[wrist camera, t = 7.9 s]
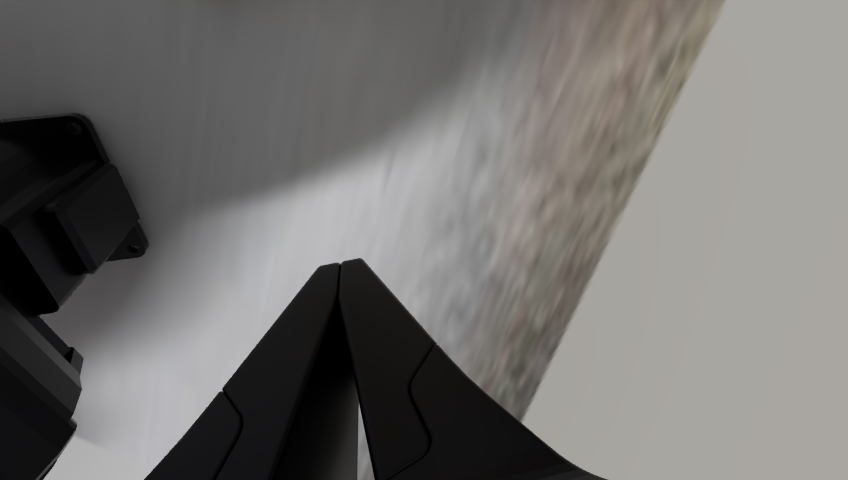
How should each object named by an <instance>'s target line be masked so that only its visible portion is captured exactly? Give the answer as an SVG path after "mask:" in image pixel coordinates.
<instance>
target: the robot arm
mask: <svg viewBox="0 0 848 480" xmlns="http://www.w3.org/2000/svg"><path fill="white" fill-rule="evenodd" d="M71 123H76V124H78V125H79V126H80V128H81V131H82V132H78V131H76V130H74V128H73V127H72V124H71ZM138 220H139V215H138V212H137V210H136V208H135V206H134V204H133V202H132V200H131V197H130V195H129V193H128V191H127V189H126V187H125V185H124V182H123V180H122V178H121V176H120V174H119V172H118V169H117V168H116V167H115V166H114V165H113V164H111V163H110V160H109V158H108V156H107V154H106V152H105V150H104V148H103V146H102V143H101V141H100V139H99V137H98V135H97V133H96V131H95V128H94V126H93V124H92V123H91V121H90V120H89V119H88V118H86V117H85V116H83V115H81V114H78V113H68V114H58V115H47V116H37V117H26V118H16V119H6V120H0V480H43V479H44V478H45V476H46V475H47V474H48V472H49V471H50V470H51V469H52V467H53V466H54V464H55V463H56V461H57V459H58V457H59V456H60V455H61V453H62V452H63V450H64V449H65V447H66V446H67V444H68V443H69V442H70V440H71V439H72V437H73V435H74V433H75V430H76V427H77V423H76V422H75V421H74V420H73V419H72V418H71V417H72V415H73V414H74V411H75V408H76V405H77V402H78V399H79V396H80V393H81V390H82V387H81V382H80V373H81V368H82V363H83V357H82V356H81V355H80V354H79V352H78V351H77V350H76V349H75V348H73V347H70V348H69V347H68V346H67V345H66V344H65V343H64V342H63V341H62V340H61V339H60V338H59V337H58V336H57V335H56V334H55V333H54V332H53V331H52V329H51V328H50V327H49V326H48V325H47V324H46V323H45V322H44V321H43V320H42V319H41V318H40V317H39V316H40V315H41V314H48V313H54V312H57V311H58V310H59V309H60V307H61V306H62V305H63V304H64V303H65V301H66V300H67V299H68V298H69V297H70V295H71V294H72V293H73V292H74V291H75V289H76V288H77V287H78V286H79V285H80V284H81V282H82V281H83V280H84V279H85V278H86V276H87V275H89V274H94V273H96V272H97V271H98V269H99V268H100V267H101V266H102V265H103V263H104V262H107V261H115V260H122V259H130V258H138V257H141V256H142V255H144V254H145V252H146V251H147V249H148V247H149V245H148V241H147V239H146V237H145V235H144V233H143V231H142V228H141V226H140V224H139V222H138ZM131 244H135V245H137V246H138V247H139V248H134V247H132V246H131ZM222 390H223V392H222V391H221V392H219V393H218V394H217V395H216V397H215V398H214V399H213V401H212V402H211V403H210V404H209V406H208V407H207V408H206V409H205V411H204V412H203V413H202V414H201V415H200V417H199V418H198V419H197V420H196V421H195V423H194V424H193V425H192V426H191V427H190V429H189V430H188V431H187V432H186V433H185V435H184V436H183V437H182V438H181V439H180V440H179V442H178V443H177V444H176V445H175V446H174V447H173V448H172V449H171V450H170V452H169V453H168V454H167V455H166V456H165V457H164V458H163V459H162V460H161V462H160V463H159V464H158V465H157V466H156V467H155V468H154V469H153V470H152V472H151V473H150V474H149V475H148V476H147V477H146V478H145V479H144V480H357V458H358V408H359V404H360V409H361V414H362V419H363V424H364V429H365V434H366V439H367V443H368V448H369V453H370V458H371V463H372V468H373V473H374V478H375V480H607V479H604V478H601V477H599V476H596V475H593V474H591V473H589V472H587V471H585V470H583V469H581V468H579V467H578V466H576V465H574V464H572V463H571V462H569V461H568V460H566V459H565V458H563V457H562V456H561V455H559V454H558V453H557V452H556V451H554V450H553V449H552V448H551V447H549V446H548V445H547V444H546V443H545V442H543V441H542V440H541V439H540V438H539V437H537V436H536V435H535V434H534V433H533V432H531V431H530V430H529V429H528V428H527V427H525V426H524V425H523V424H522V423H521V422H520V421H518V420H517V419H516V418H515V417H514V416H512V415H511V414H510V413H509V412H508V411H506V410H505V409H504V408H503V407H502V406H501V405H499V404H498V403H497V402H496V401H495V400H493V399H492V398H491V397H490V396H489V395H488V394H486V393H485V392H484V391H483V390H482V389H481V388H480V387H479V386H478V385H476V384H475V383H474V382H473V381H472V380H471V379H470V378H469V377H467V376H466V374H465V373H464V372H463V371H462V370H461V369H460V368H459V367H458V366H457V365H456V364H455V363H454V362H453V361H452V360H451V359H450V358H449V357H448V355H447V354H446V353H445V352H444V351H443V350H442V349H441V348H440V346H438V345H437V344H436V342H435V341H434V340H433V339H432V338H431V336H430V335H429V334H428V333H427V332H426V331H425V330H424V329H423V327H422V326H421V325H420V324H419V323H418V322H417V321H416V319H415V318H414V317H413V316H412V315H411V314H410V313H409V311H408V310H407V309H406V308H405V307H404V306H403V305H402V303H401V302H400V301H399V300H398V299H397V298H396V297H395V296H394V294H393V293H392V292H391V291H390V290H389V289H388V288H387V286H386V285H385V284H384V283H383V282H382V281H381V280H380V278H379V277H378V276H377V275H376V274H375V273H374V272H373V271H372V269H371V268H370V267H369V266H368V265H367V264H366V263H365V261H364V260H363V259H361V258H358V259H353V260H348V261H344V262H342V263H341V264H340V263H333V264H327V265H322V266H320V267H318V268H317V270H316V271H315V272H314V273H313V275H312V276H311V277H310V278H309V280H308V281H307V282H306V283H305V285H304V286H303V287H302V289H301V290H300V291H299V292H298V294H297V295H296V296H295V297H294V299H293V300H292V301H291V302H290V304H289V305H288V306H287V307H286V309H285V310H284V311H283V312H282V314H281V315H280V316H279V318H278V319H277V320H276V321H275V323H274V324H273V325H272V326H271V328H270V329H269V330H268V331H267V333H266V334H265V335H264V336H263V338H262V339H261V340H260V342H259V343H258V344H257V345H256V347H255V348H254V349H253V350H252V352H251V353H250V354H249V355H248V357H247V358H246V359H245V360H244V362H243V363H242V364H241V365H240V367H239V368H238V369H237V371H236V372H235V373H234V374H233V376H232V377H231V378H230V379H229V381H228V382H227V383H226V384H225V386H224V387H223V389H222Z"/></svg>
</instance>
